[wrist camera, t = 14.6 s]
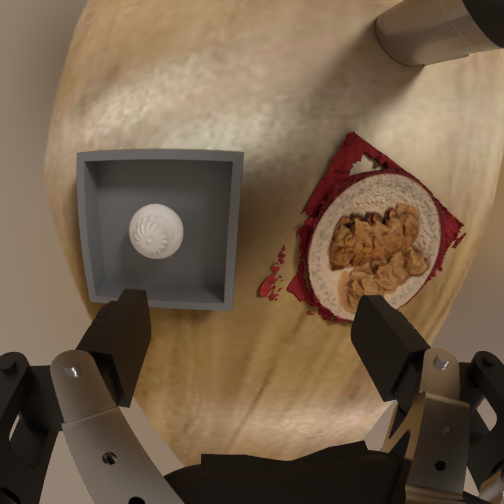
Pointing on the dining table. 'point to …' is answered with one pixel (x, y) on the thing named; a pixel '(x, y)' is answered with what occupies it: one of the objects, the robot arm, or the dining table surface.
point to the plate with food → (368, 236)
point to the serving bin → (176, 198)
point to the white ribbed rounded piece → (156, 231)
